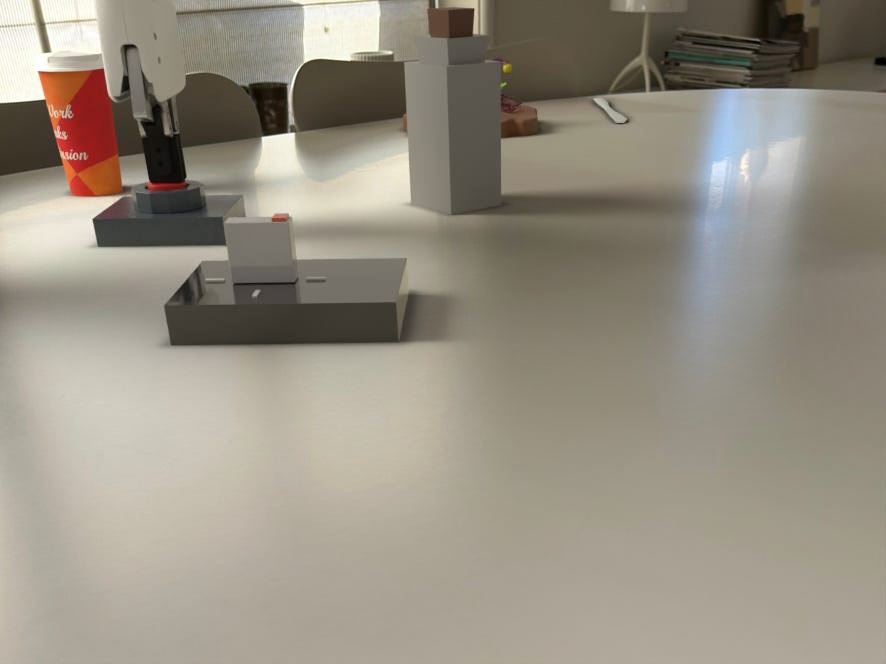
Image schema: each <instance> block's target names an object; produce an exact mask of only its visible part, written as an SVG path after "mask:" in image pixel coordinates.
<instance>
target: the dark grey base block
mask: <svg viewBox="0 0 886 664" xmlns="http://www.w3.org/2000/svg"><path fill="white" fill-rule="evenodd" d="M297 267H298V277H297V279H296V281H295V282H293V283H232V279H231V272H230V265H229V260H202V261H201V262H200V263H199V264H198V266H197V267H196V268H195V269H194V270H192V271H193V272H191V274H190V275H189V276H188V277H187V278H186V280H184V282H183V283H182V284H181V285H180V286H179V287H178V288H177V290H176V291H175V292H174V293H173V294H172V295H171V297H170V298H169V299H168V300H167V302H166V303H164V305H163V309H164V313H165V314H164V315H165V321H166V326H167V332H168V337H169V344H170V346H227V345H229V346H231V345H233V346H235V345H239V346H241V345H302V344H305V345H307V344H309V345H310V344H371V343H373V344H376V343H379V344H380V343H381V344H383V343H399V342H400V338H401V334H402V333H401V332H402V328H403V322H404V318H405V314H406V309H407V304H408V300H409V294H410V291H409V274H408V273H409V272H408V258H407V257H377V258H376V257H375V258H373V257H372V258H371V257H369V258H366V257H365V258H311V259H309V258H305V259H303V258H302V259H301V258H300V259H297Z"/></svg>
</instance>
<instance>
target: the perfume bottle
mask: <svg viewBox="0 0 886 664" xmlns="http://www.w3.org/2000/svg"><path fill="white" fill-rule="evenodd" d="M426 11H427V20H428V28H429V34H421V35H420V34H419V35H412V39H413V42H414V46H415V50H416V53H417V56H418V60H413V61H404V62H403V63H404V64H403V65H404V66H403V68H404V88H405V89H404V90H405V105H406V107H405V108H406V113H407V130H408V132H407V148H408V149H407V150H408V171H409V190H410V192H409V193H410V205H411V206H414V207H419V208H422V209H426V210H430V211H435V212H438V213H442V214H446V215H449V216H453V215H458V214H463V213H467V212H473V211H478V210H483V209H488V208H494V207H498V206H502V138H501V94H502V89H501V84H502V74H501V73H502V70H501V69H502V67H501V66H502V65H501V64H502V62H501V61H492V60H490V59H486V56H487V52H488V48H489V45H490V40H491V35H492V34H483V33H482V34H481V33H474V26H475V25H474V23H475V7H457V6H451V7H435V8H433V7H432V8H426Z"/></svg>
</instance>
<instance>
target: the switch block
mask: <svg viewBox="0 0 886 664" xmlns="http://www.w3.org/2000/svg"><path fill="white" fill-rule="evenodd" d="M185 181H186V184H187V187H186V188H182V189H177V190H167V191H154V190H148V187H147V183H148V182H149V181H146V182H141V183H138V184H135V185H134V186H132V187H131V188H130V192H131V196H127V195H126V196H121V197H120V198H119V199H118V200H116V201H115V202H113V203H112V204H111V205H109V206H108V207H107V208H105V209H104V210H103V211H101V212H100V213H99V214H97V215H95V216H94V217H93V218H92V219H91V220H92V225H93V229H94V236H95V240H96V244H97V247H98V248H113V247H114V248H115V247H119V248H120V247H177V246H179V247H182V246H189V247H190V246H227V244H226V237H225V230H224V222H225V221H226V220H227V219H228V218H229V217H247V216H246V208H245V200H244V195H243V194H209V195H208V194H206V192H205V185H204V183H202V182H200V181H198V180H193V179H192V180H191V179H185Z"/></svg>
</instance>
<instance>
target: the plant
mask: <svg viewBox="0 0 886 664" xmlns="http://www.w3.org/2000/svg"><path fill="white" fill-rule="evenodd" d="M489 60H492V61H501V64H502V71H503V72H504V73H505V74H507V75H510V74H511V73H512V71H513V66H512V64H511V63H510V62H509V61H508V60H507V59H504V58H503V57H500V56H496V57H495V56H494V57H491V58H490V59H489ZM506 85H507V82H506V81H505V82H501V90H502V89H504V87H505V86H506ZM402 124H403V131H404V132H406V133H408V130H407V112H405V113H404V114H403V115H402ZM538 132H539V117H538V109H537V108H536V107H533V106H531V105H527V104H523V103H522V101H521V100H518V101H515V100H513V99H512V98H511V97H508V96H507V95H506V93H505V92H502V93H501V139H504V138H509V137H526V136H532V135H535V134H537V133H538Z"/></svg>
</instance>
